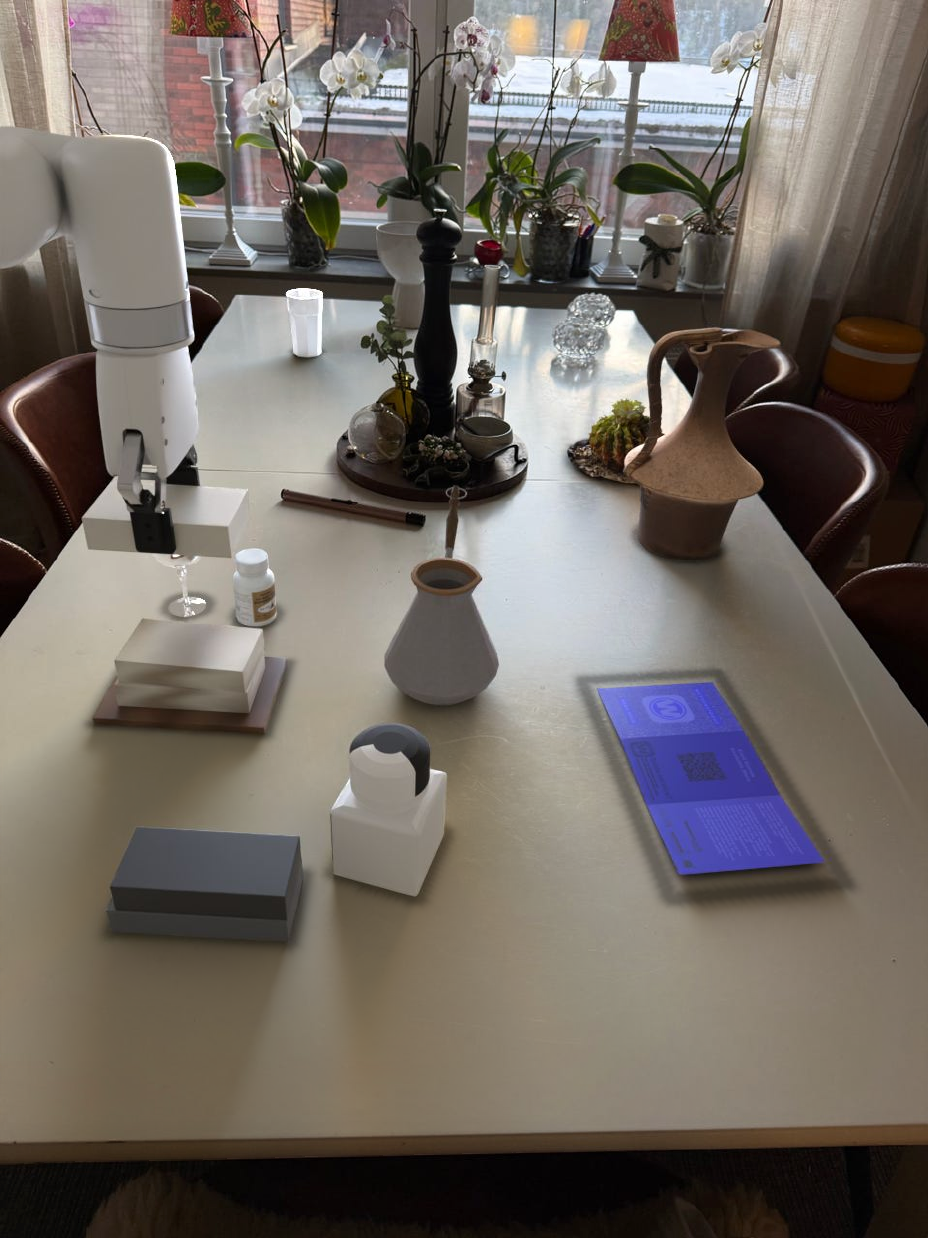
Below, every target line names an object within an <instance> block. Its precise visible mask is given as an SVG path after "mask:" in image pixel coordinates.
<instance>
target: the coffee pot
mask: <svg viewBox="0 0 928 1238" xmlns="http://www.w3.org/2000/svg"><path fill="white" fill-rule="evenodd" d="M450 490H451V492H450V495H449V494H448V491H450ZM460 491H462V492H464V493H465V494H464V495H463V496H461V497H460ZM445 495H446V496H447V498H450V499H449V500H448V502H447V503H448V506H449V509H448V513H447V517H446V520H445V542H444V545H445V546H444V550H445V552H444V557H435V558H429V559H425V560H423V561H421V562H419V563H417V564H416V565H415V566H414V567H413V569H412V570H411V572H410V579H411V582H412V583H413V585H414V586H415V587H416V590H417V592H416V593H415V596H414V597H413V598H412V600H411V602H410V605H409V606H408V608H407V610H406V612H405V614H404V616H403V618H402V620H401V621H400V623H399V625H398V627H397V628H396V631H395V633H394V634H393V637H392V638H391V640H390V642H389V644H388V646H387V649H386V651H385V653H384V658H383V659H384V662H383V663H384V668H385V671H386V673H387V675H388V677H389V679H390V680H391V682H392V683H393V684H394V685H395V686H396V688H397V689H398V690H400V691H401V692H402V693H404V694H406V695H407V696H408V697H411V698H413V699H415V700H417V701H419V702H422V703H425V704H428V705H432V706H433V705H434V706H451V705H457V704H459V703H462V702H465V701H468V700H470V699H472V698H475V697H476V696H478V695H479V694H481V693H482V692H483V691H485V690H487V688H488V687H489V685H490V684H491V683H492V682H493V680H494V679H495V677H496V676H497V673H498V669H499V666H500V661H499V656H498V652H497V649H496V648H495V647H496V646H495V645H494V643H493V641H492V639H491V636H490V634H489V631H488V628H487V627H486V624H485V622H484V619H483V618H482V615H481V612H480V610H479V609H478V606H477V604H476V601H475V599H474V597H473V593H474V591H475V590H476V589H477V587H478V586H479V584H481V582H482V581H483V576H482V575H481V574H480V571H478V570H477V568H476V567H474V566H473V565H472V564H470V563H468V562H466V561H464V560H461V559H457V558H453V557H454V556H453V555H454V550H455V545H456V538H457V533H458V527H459V526H458V525H459V510H458V509H459V507H460V505H461V502H460V500H463V499H465V498H466V497H467V496H468V492H467V490H466V489H464V488H462V487H459V485H457V484H454V485H453V486H452V487H447V489H446V490H445Z"/></svg>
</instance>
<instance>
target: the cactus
mask: <svg viewBox="0 0 928 1238" xmlns="http://www.w3.org/2000/svg"><path fill="white" fill-rule="evenodd" d="M611 407H612V408H613V409H611V410H610V412H611V413H612V414H609V415H607V414H606V415H605V414H604V411H603V416H604V417H603V416H599V417H598V418H599V420H596V423H595V424H593V425H591V428H590V429H591V431H590V432H588V435H589V437H588V439H582V440H578V441H576V442H575V443H574V444H570V445H569V447H568V448H567V450H566V454H567V457H568V460H570V463H571V464H572V465H575V466H576V467H577V469H579V470H580V471H581V472H583V473H584V474H585V475H589V476H591V477H602V478H603V479H609V480H612V481H616V482H620V483H624V484H637V483H636V482H635V481H633V480H631V479H629V478H628V477H626V476H625V474H624V472H623V470H624V468H625V466H624V460H625V457H626V456H627V454H628V453H629V452H630V451H631V450H632V449H634V448H636V447H638V446H640V445H643V444H645V441H646V439H647V437H648V432H649V424H650V415H644V413H645V410H646V408H647V407H646V406H644V404H643V402H642V401H639V400H638V399H635V400H630V399H628V398H627V397H625V398H624V399H623V398H621V399H620V400H616V402H615V403H614V404H611ZM663 430H664V429H663V428H661V429H660V433H659V437H658V438H660V437H662V436H664V435H666V433H663Z"/></svg>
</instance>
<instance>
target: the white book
mask: <svg viewBox="0 0 928 1238" xmlns="http://www.w3.org/2000/svg"><path fill="white" fill-rule="evenodd" d="M117 481H118V480H111V481H110V482H109V484H108V485H107V486H106V488H105V489H104V490H102V492H101V493H100V495H98V497H97V498H96V500H95V501H94V502H93V503H92V504H91V505H90V507H89V508H88V509H87V511H86V512H85V513H84V514H83V516H81V522H82V526H83V531H84V537H85V540H86V547H87V550H89V551H90V550H91V551H107V552H123V553H138V554H139V553H140V554H142V553H141V552H138V551H137V550H136V547H135V541H134V535H133V529H132V523H131V518H130V512H128V511H127V506H126V503H125V501H124V500H123V497H122V495H121V494H120V493H119V492H118V490H117ZM141 484H142V485H143V489H148V490H149V491H150V492H151V493H152V494H153V495H154V496H155V482H153V483H152V482H141ZM249 495H250V494H249V489H248V488H237V487H236V488H235V487H219V486H203V485H202V486H201V485H200V486H188V485H171V484H166V508H171V513H172V520H173V527H174V534H175V541H176V550H175V552H174V553H173V554H170V555H186V556H202V557H205V558H218V559H219V558H222V559H232V558H233V556H234V554H235V552H236V550H237V548H238V546H239V544H240V542H241V539H242V538H243V536H244V533H245V532H246V529H247V528H248V526H249V523H250V521H251V519H252V518H251V509H250V499H249V498H250V497H249ZM153 554H157V553H153ZM153 554H152V555H153ZM202 557H201V558H202Z"/></svg>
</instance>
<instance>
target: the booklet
mask: <svg viewBox="0 0 928 1238" xmlns="http://www.w3.org/2000/svg"><path fill="white" fill-rule="evenodd" d="M596 690H597V692H598V694H599V697H600V699H601V701H602V703H603V706H604V707H605V710H606V712H607V715H608V716H609V719H610V720H611V722H612V724H613V727H614V729H615V731H616V734H617V736H618V738H619V740H620V742H621V745H622V747H623V750H624V753H625V755H626V757H627V760H628V762H629V765H630V767H631V770H632V773H633V775H634V777H635V780H636V782H637V783H636V784H637V786H638V788H639V790H640V792H641V795H642V798H643V800H644V802H645V803H644V804H645V805H646V807H647V809H648V811H649V814H650V816H651V818H652V820H653V822H654V825H655V826H656V828H657V830H658V832H659V834H660V837H661V840H662V841H663V843H664V845H665V847H666V849H667V851H668V854H669V855H670V858H671V860H672V862H673V864H674V866H675V868H676V871H677V872H678V875H679V876H684V875H695V874H696V875H697V874H708V873H709V874H710V873H716V872H717V873H721V872H731V871H742V870H743V871H744V870H755V869H766V868H776V867H787V866H788V867H789V866H799V865H800V866H801V865H810V864H811V865H812V864H822V863H823V864H824V863H826V861H825V860H824V858H823V857H822V855H821V854H820V852H819V851H818V850H817V848H816V846H815V845H814V843H813V842H812V840H811V838H810V837H809V836H808V835H807V833H806V831H805V830H804V828H803V827H802V825H801V824H800V822H799V821H798V820H797V818H796V816H795V815H794V813H793V812H792V810H791V809H790V808H789V805H787V803H786V801H785V800H784V798H783V797H782V795H781V794H780V791H779V790H778V789H777V787H776V785H775V783H774V782H773V779H772V778H771V776H770V774H769V773H768V771H767V769H766V767H765V765H764V763H763V761H762V760H761V758H760V756H759V754H758V753H757V751H756V748H755V747H754V745H753V744H752V742H751V740H750V738H749V736H748V735H747V733H746V731H745V730H744V729H743V727H742V725H741V724H740V722H739V720H738V719H737V717H736V716H735V714H734V713H733V711H732V709H731V708H730V707H729V705H728V703H727V702H726V701H725V699H724V698H723V696H722V694H721V692H720V691H719V690H718V688H717V687H716V685H715V683H714V682H713V681H711V682H710V681H707V682H689V683H688V682H687V683H673V684H654V685H636V686H618V687H617V686H616V687H602V688H601V687H600V688H596Z"/></svg>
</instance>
